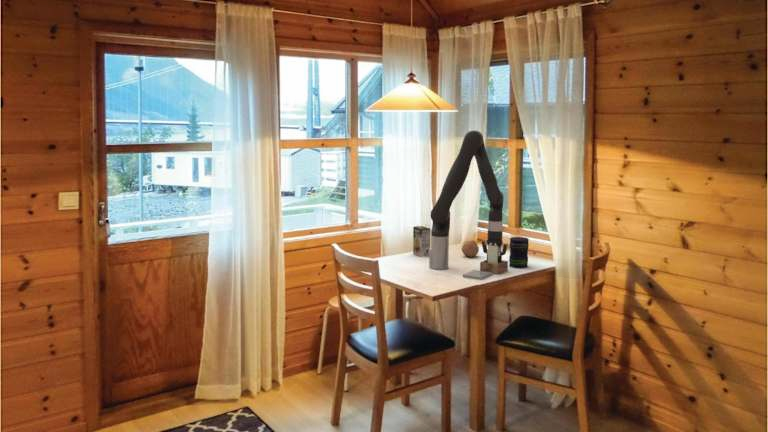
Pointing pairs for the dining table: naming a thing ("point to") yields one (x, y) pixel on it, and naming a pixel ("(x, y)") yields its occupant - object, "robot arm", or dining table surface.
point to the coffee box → (421, 241)
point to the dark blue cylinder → (518, 252)
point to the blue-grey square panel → (477, 274)
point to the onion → (470, 249)
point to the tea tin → (493, 254)
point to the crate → (494, 267)
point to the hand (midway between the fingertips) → (494, 261)
